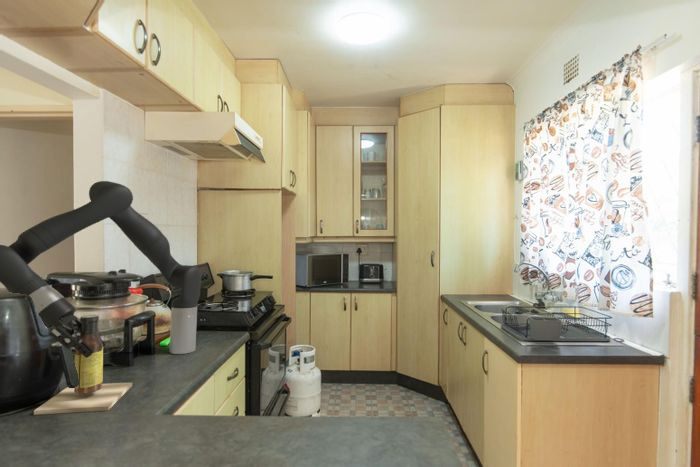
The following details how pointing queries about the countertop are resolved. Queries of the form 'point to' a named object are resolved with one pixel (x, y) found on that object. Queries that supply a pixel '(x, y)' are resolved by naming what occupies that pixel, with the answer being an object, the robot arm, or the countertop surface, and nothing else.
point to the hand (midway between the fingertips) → (96, 350)
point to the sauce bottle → (92, 365)
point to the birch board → (84, 400)
